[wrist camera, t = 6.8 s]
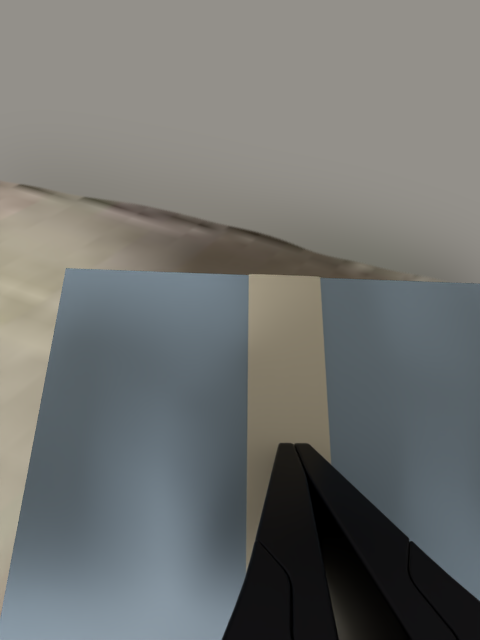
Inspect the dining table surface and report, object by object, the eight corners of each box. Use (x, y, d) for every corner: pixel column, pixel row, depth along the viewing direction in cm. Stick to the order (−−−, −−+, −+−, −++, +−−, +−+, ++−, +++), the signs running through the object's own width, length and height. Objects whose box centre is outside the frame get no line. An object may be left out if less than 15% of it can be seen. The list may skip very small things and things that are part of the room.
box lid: (539, 630, 9) (574, 654, 8) (13, 639, 8) (-12, 666, 7) (471, 292, 12) (491, 282, 11) (77, 278, 11) (64, 267, 10)
